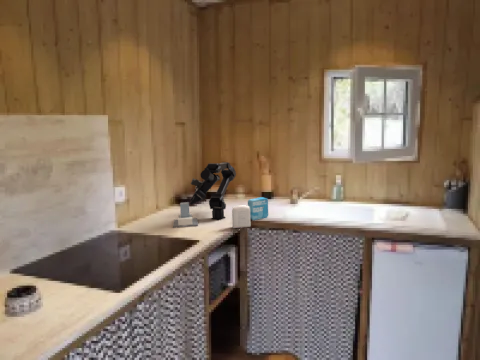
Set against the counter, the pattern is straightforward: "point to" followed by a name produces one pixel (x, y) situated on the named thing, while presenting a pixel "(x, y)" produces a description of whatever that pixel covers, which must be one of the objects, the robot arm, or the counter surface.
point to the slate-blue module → (184, 210)
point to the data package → (258, 208)
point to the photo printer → (241, 216)
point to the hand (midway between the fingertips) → (190, 202)
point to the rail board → (185, 221)
